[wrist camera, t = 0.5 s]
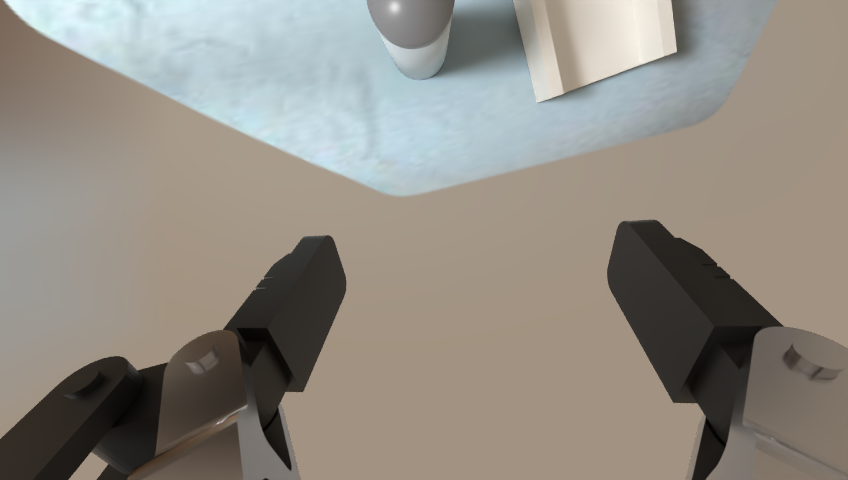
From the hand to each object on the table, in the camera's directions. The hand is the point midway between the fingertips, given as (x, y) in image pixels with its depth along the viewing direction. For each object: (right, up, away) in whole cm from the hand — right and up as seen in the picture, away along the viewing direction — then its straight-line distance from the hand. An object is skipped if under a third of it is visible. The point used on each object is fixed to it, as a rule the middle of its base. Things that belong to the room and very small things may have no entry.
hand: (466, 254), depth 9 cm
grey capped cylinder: (-2, +18, +20) cm, 27 cm away
